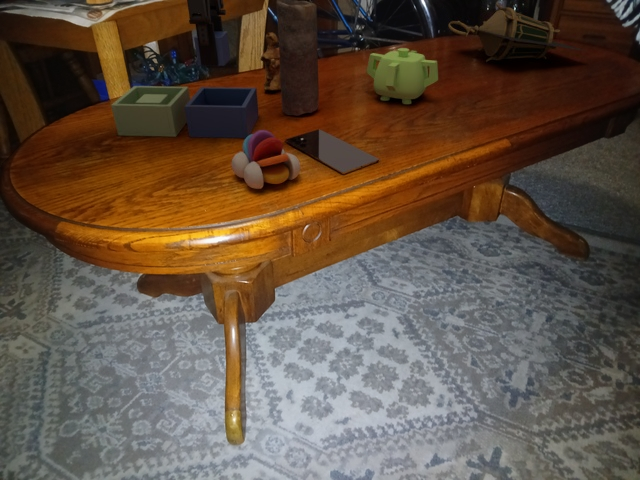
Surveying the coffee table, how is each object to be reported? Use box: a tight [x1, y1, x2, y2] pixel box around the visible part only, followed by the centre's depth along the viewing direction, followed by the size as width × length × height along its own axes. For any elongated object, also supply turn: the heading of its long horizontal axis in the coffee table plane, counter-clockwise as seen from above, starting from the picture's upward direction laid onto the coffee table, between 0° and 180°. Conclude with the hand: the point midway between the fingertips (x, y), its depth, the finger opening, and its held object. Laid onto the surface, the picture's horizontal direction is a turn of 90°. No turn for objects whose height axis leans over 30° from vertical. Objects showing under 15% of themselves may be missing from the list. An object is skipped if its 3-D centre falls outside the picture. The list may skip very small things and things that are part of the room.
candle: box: [275, 0, 320, 117], centre depth 96 cm, size 8×7×20 cm
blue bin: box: [184, 86, 260, 139], centre depth 93 cm, size 11×11×6 cm
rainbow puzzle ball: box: [230, 129, 301, 190], centre depth 76 cm, size 8×10×7 cm
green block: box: [136, 94, 169, 105], centre depth 94 cm, size 4×4×4 cm
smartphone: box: [284, 129, 380, 175], centre depth 85 cm, size 8×1×16 cm
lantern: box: [448, 2, 587, 63], centre depth 127 cm, size 14×23×30 cm
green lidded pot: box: [366, 47, 439, 105], centre depth 105 cm, size 12×12×10 cm
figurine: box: [259, 32, 281, 92], centre depth 108 cm, size 5×6×12 cm
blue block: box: [193, 30, 231, 67], centre depth 86 cm, size 4×4×4 cm
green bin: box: [110, 85, 191, 138], centre depth 94 cm, size 11×11×6 cm
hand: (213, 60), depth 87 cm, fingers closed on blue block, 4 cm apart
